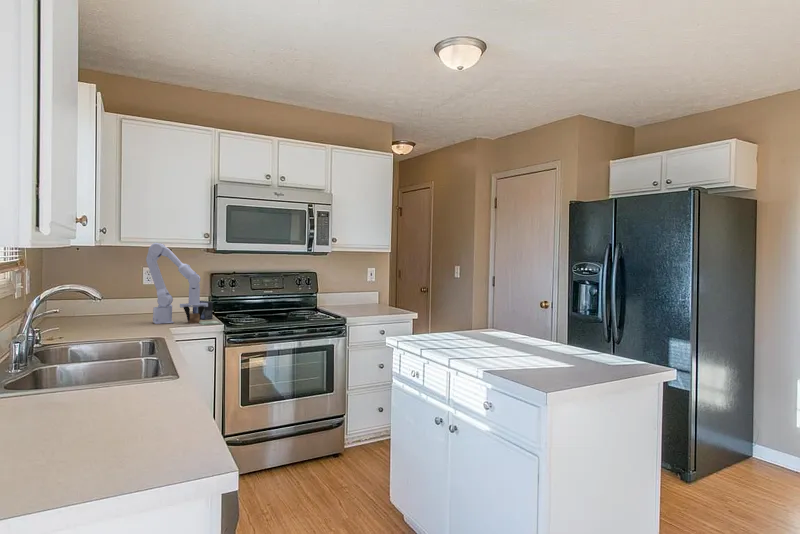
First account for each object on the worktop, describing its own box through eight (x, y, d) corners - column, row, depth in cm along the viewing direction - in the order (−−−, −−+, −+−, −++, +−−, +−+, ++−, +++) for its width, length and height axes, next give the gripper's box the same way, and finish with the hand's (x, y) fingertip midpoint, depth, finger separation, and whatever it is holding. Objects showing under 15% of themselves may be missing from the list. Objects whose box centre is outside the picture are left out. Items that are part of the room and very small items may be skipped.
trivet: (202, 325, 264) (202, 323, 264) (198, 323, 271) (198, 321, 271) (219, 324, 269) (219, 322, 269) (215, 322, 276) (215, 320, 276)
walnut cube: (189, 323, 269) (190, 314, 269) (188, 322, 273) (188, 313, 273) (199, 322, 272) (199, 314, 272) (197, 321, 276) (197, 313, 276)
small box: (191, 318, 289) (191, 301, 289) (200, 317, 295) (201, 300, 295) (203, 320, 284) (204, 302, 284) (212, 319, 290) (213, 301, 290)
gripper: (181, 296, 265) (181, 321, 265) (209, 296, 273) (209, 320, 273) (179, 295, 271) (178, 320, 271) (206, 295, 279) (206, 318, 279)
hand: (193, 320), depth 273 cm, fingers closed on walnut cube, 5 cm apart
